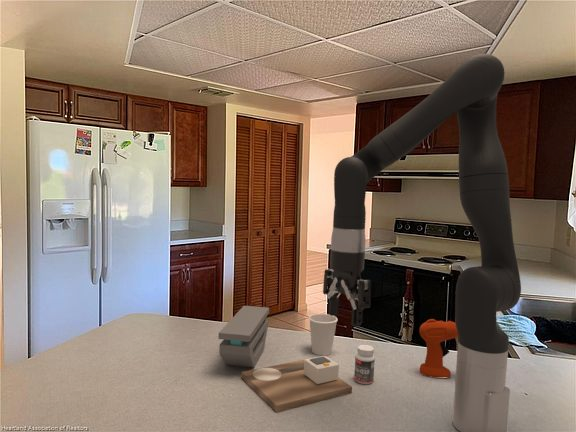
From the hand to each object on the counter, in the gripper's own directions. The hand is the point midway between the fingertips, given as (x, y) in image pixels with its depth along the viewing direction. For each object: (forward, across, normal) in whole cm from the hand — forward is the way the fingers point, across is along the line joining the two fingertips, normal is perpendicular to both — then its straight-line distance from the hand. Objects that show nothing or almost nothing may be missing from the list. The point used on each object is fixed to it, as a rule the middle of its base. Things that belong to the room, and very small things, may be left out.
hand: (344, 320), depth 98 cm
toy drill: (+18, -3, -34) cm, 39 cm away
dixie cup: (+18, +25, -12) cm, 33 cm away
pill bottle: (+18, +5, -11) cm, 22 cm away
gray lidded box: (+18, +30, +10) cm, 37 cm away
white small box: (+16, +8, 0) cm, 18 cm away
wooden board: (+18, +10, +6) cm, 22 cm away
